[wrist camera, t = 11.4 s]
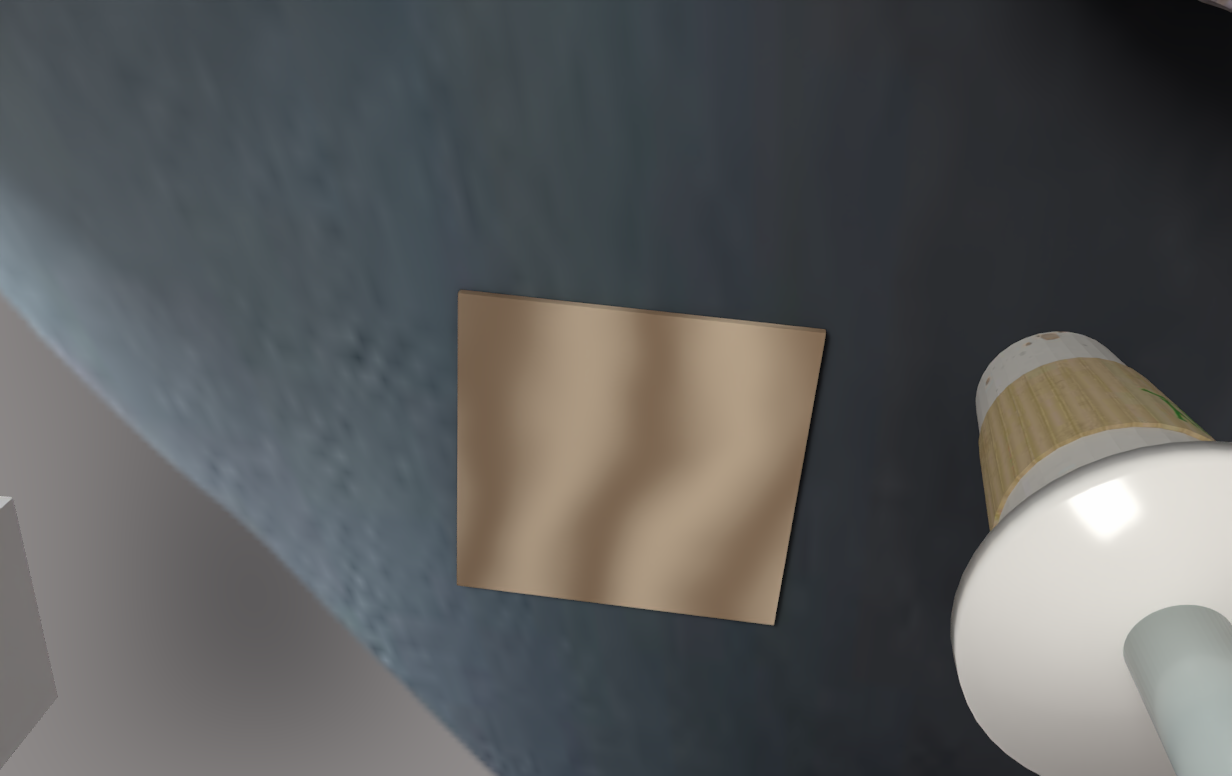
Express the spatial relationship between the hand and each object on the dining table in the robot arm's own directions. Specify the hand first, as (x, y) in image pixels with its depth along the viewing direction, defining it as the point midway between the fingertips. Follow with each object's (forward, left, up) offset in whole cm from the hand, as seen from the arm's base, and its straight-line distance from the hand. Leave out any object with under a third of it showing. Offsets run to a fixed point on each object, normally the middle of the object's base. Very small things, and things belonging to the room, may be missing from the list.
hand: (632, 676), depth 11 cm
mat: (-2, -19, -35) cm, 40 cm away
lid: (+16, -13, -20) cm, 28 cm away
